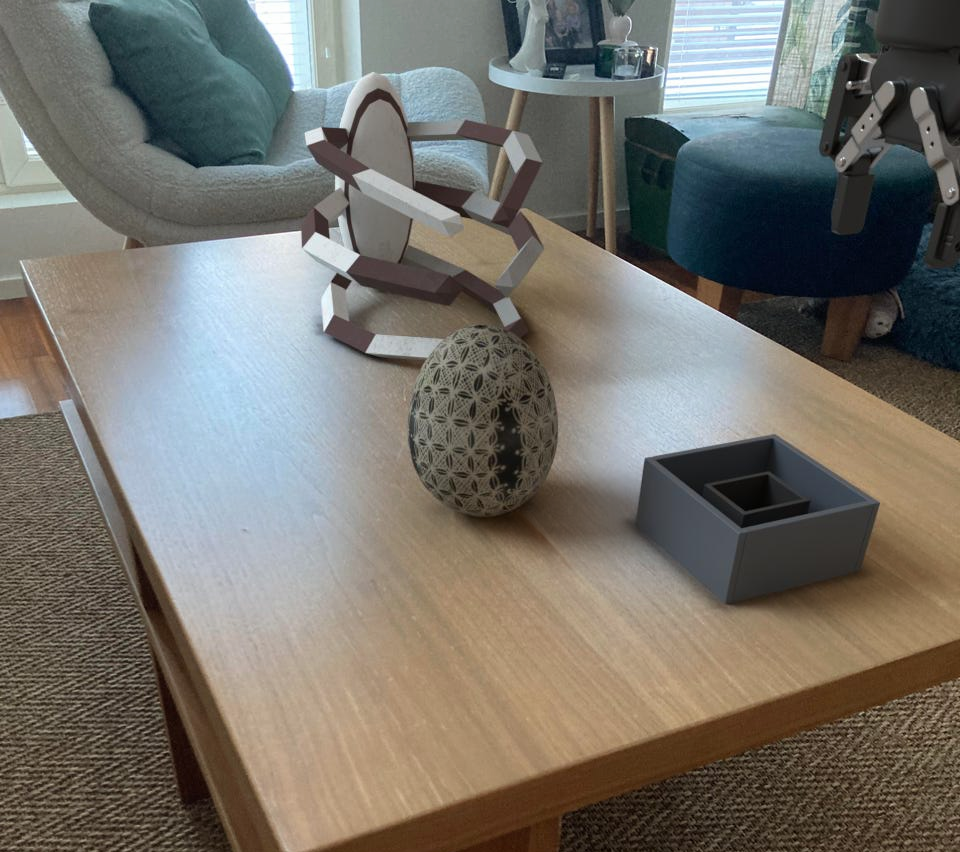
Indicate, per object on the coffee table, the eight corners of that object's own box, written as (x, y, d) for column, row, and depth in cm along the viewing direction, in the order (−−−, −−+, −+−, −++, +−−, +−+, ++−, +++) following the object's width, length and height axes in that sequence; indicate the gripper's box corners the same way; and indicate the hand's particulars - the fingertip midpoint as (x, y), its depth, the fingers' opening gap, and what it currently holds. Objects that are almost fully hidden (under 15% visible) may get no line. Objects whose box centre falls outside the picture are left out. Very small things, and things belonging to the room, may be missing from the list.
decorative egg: (438, 556, 78) (439, 365, 69) (389, 487, 87) (384, 310, 78) (576, 530, 82) (594, 346, 73) (516, 467, 90) (525, 295, 81)
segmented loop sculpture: (461, 264, 136) (589, 377, 112) (263, 288, 127) (356, 416, 103) (468, 57, 121) (619, 137, 97) (242, 67, 111) (347, 159, 88)
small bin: (756, 527, 82) (768, 470, 79) (796, 558, 78) (811, 500, 75) (693, 541, 80) (703, 484, 77) (731, 573, 76) (744, 514, 73)
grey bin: (759, 505, 86) (774, 433, 82) (858, 579, 77) (880, 502, 73) (634, 532, 82) (644, 457, 78) (723, 613, 73) (739, 533, 69)
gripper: (1120, -47, 53) (1020, 272, 63) (919, -58, 64) (860, 217, 73) (1014, -46, 51) (927, 287, 60) (823, -57, 61) (774, 228, 71)
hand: (890, 248), depth 67 cm, fingers open, 8 cm apart
